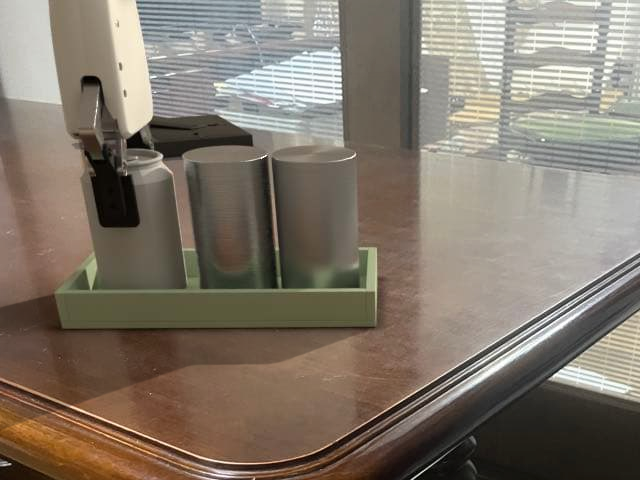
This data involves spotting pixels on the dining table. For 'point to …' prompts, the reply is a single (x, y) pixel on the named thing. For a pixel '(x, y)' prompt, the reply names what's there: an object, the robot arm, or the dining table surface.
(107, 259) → the can
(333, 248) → the can
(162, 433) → the dining table surface
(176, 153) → the picture frame
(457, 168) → the dining table surface
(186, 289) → the tray
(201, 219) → the can
